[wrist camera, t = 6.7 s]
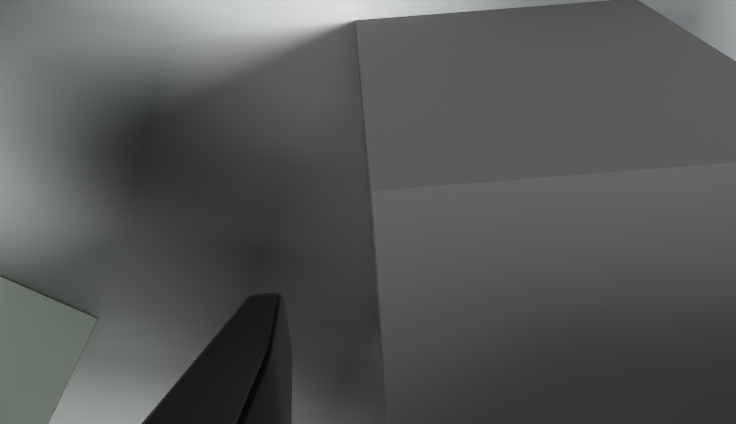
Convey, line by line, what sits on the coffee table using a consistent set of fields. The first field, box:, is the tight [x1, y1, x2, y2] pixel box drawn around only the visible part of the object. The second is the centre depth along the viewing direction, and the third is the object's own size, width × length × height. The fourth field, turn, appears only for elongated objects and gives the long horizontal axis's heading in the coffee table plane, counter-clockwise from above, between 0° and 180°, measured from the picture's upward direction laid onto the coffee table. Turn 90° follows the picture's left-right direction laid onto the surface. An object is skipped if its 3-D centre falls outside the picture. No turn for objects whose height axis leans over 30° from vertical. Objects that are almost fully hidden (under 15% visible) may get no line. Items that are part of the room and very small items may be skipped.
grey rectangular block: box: [356, 0, 736, 424], centre depth 9 cm, size 6×4×5 cm, turn 4°
